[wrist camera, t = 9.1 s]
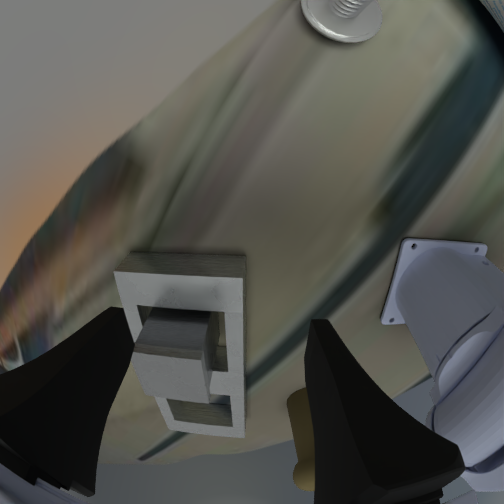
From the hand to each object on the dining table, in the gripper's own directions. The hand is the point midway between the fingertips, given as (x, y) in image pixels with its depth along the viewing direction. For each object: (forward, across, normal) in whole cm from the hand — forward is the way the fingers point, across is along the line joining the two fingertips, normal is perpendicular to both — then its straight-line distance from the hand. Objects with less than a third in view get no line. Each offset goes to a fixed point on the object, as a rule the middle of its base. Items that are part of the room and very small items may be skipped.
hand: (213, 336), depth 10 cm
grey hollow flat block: (+10, +4, +13) cm, 17 cm away
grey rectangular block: (+10, +4, +8) cm, 13 cm away
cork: (+11, -8, +20) cm, 24 cm away
